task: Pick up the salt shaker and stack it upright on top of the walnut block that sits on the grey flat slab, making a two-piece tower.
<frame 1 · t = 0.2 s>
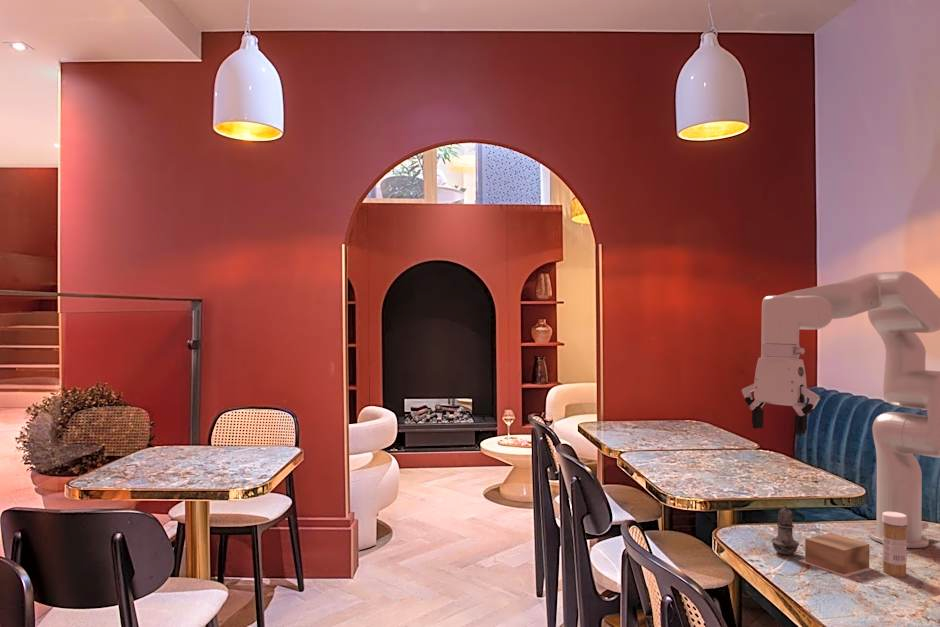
hand: (778, 430, 154), 30 cm above the table, tool pointing down, fingers open, 9 cm apart
salt shaker: (784, 558, 162), on the table
grey flat slab: (833, 569, 155), on the table
walnut block: (836, 564, 155), point 1 cm above the table, touching grey flat slab
sprinkles bottle: (894, 578, 150), on the table
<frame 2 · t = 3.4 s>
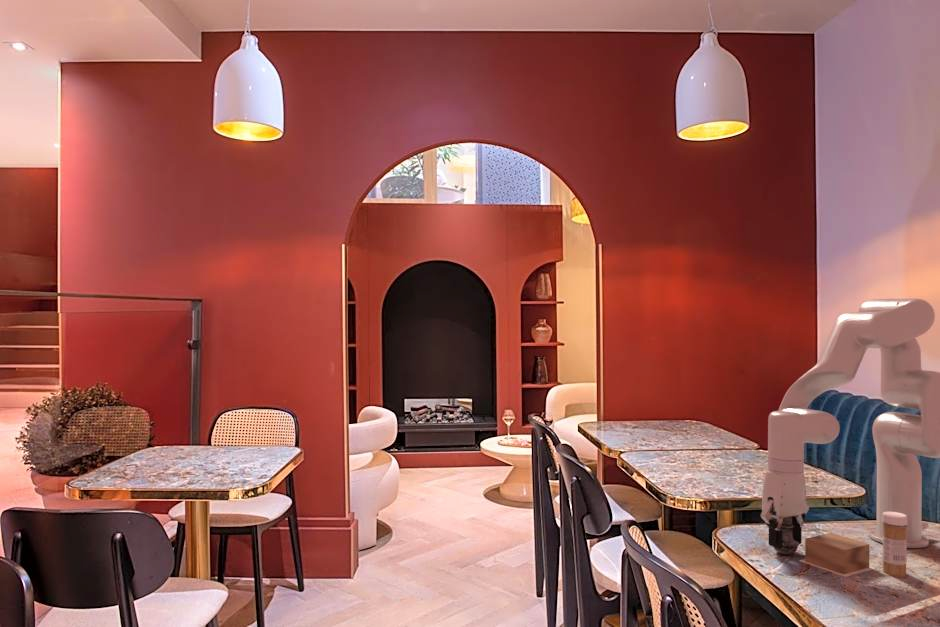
hand: (785, 543, 162), 3 cm above the table, tool pointing down, fingers closed on salt shaker, 5 cm apart
salt shaker: (784, 558, 162), on the table, touching gripper
everything else where it was.
when the fingers open (10 cm above the table, at t = 8.1 s): salt shaker drops 1 cm, resting on walnut block.
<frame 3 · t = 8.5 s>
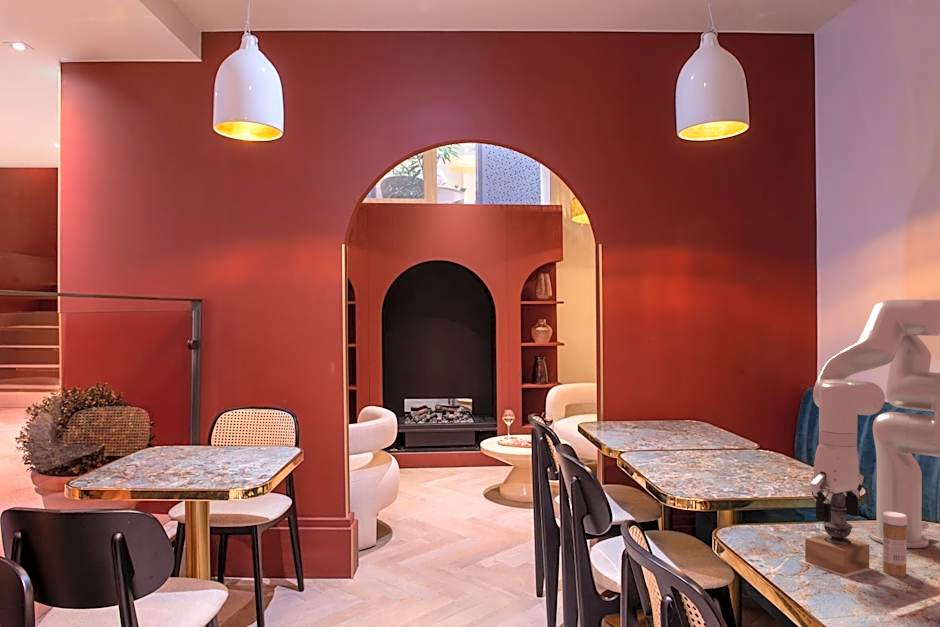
hand: (837, 517, 155), 11 cm above the table, tool pointing down, fingers open, 9 cm apart
salt shaker: (837, 541, 155), point 6 cm above the table, touching walnut block
walnut block: (836, 564, 155), point 1 cm above the table, touching salt shaker, grey flat slab
everything else where it was.
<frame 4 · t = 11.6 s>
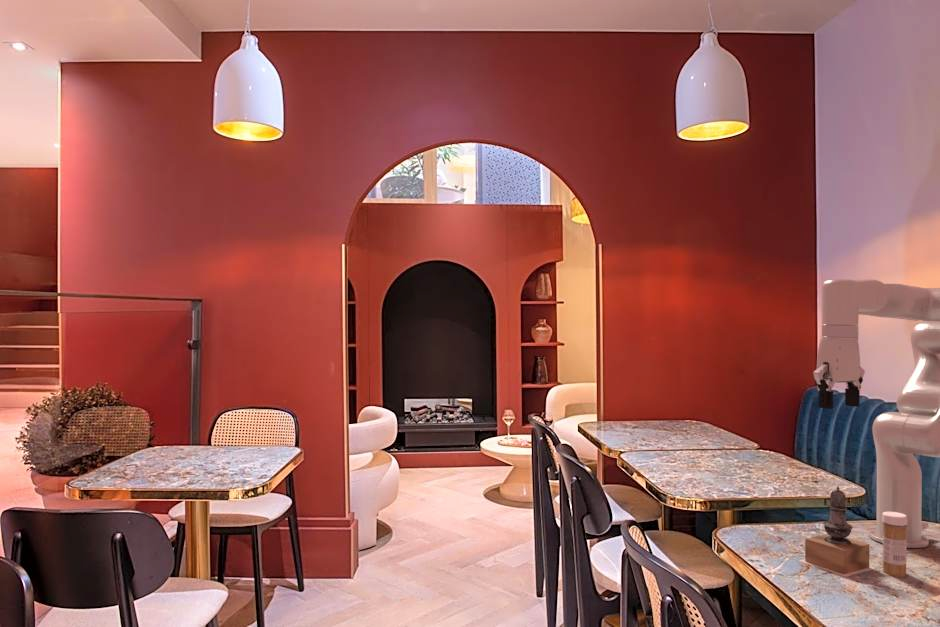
hand: (839, 407, 164), 34 cm above the table, tool pointing down, fingers open, 9 cm apart
nothing on the table moved.
at the end: salt shaker inside the target area on the walnut block (0.2 cm from its centre), point 4.8 cm above the walnut block's base; salt shaker tilted 0°; salt shaker touching walnut block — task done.
